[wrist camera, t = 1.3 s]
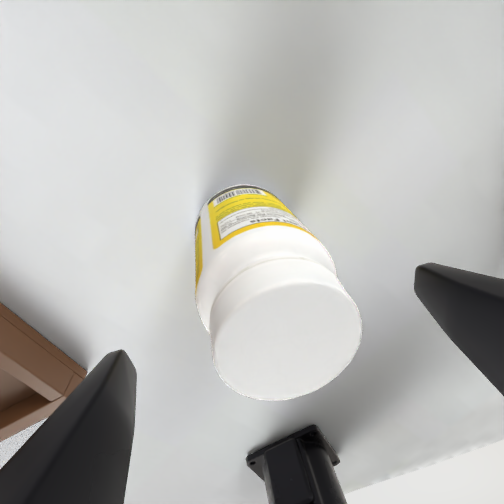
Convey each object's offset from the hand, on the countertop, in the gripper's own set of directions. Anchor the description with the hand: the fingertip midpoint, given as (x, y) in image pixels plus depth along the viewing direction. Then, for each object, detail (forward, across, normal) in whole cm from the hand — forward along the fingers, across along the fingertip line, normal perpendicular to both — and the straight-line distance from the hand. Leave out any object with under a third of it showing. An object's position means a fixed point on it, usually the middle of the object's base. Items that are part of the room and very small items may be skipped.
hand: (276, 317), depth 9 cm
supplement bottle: (+7, 0, 0) cm, 7 cm away
